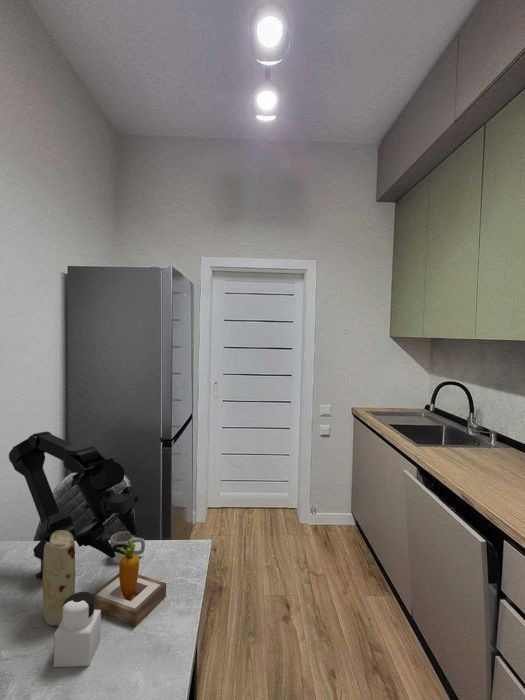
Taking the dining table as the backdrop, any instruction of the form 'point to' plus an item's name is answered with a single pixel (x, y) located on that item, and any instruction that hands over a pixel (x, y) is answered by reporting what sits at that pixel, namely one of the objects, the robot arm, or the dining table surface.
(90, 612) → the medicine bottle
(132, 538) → the mug
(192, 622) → the dining table surface
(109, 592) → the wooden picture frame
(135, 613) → the walnut box
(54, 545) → the food model
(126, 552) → the carrot
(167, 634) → the dining table surface
